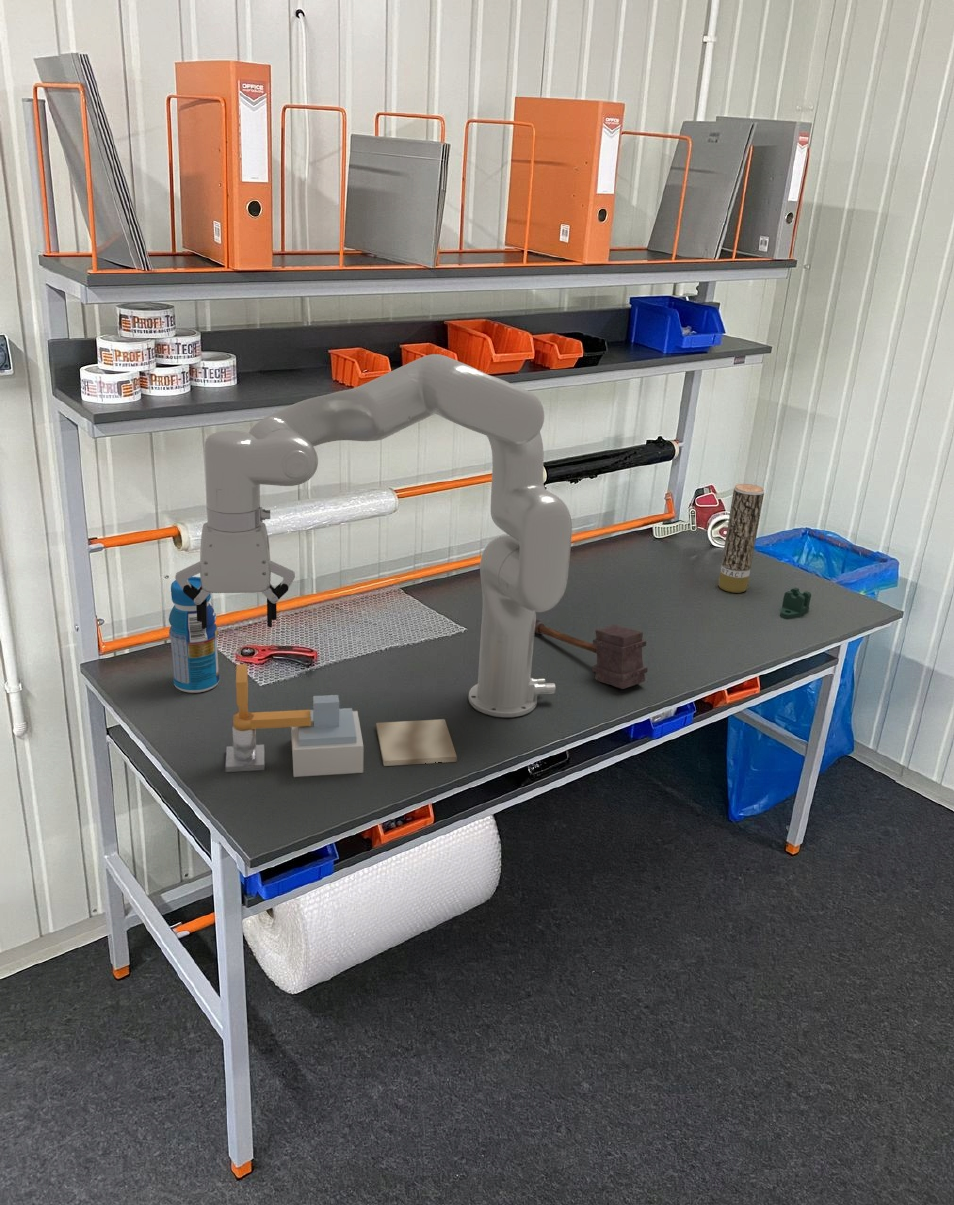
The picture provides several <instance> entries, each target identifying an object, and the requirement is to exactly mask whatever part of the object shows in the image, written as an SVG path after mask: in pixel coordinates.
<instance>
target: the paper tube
mask: <svg viewBox="0 0 954 1205" xmlns="http://www.w3.org/2000/svg"><path fill="white" fill-rule="evenodd" d="M764 496H765V489H764V488H763V487H762V486H759V485H757V484H756V485H755V484H751V483H738V484H737V483H736V484H735V485H734V487H733V492H732V498H731V505H730V510H729V515H728V523H727V529H726V535H725V541H724V548H723V552H722V559H721V565H720V572H719V576H718V577H719V579H718V588H720V589H721V590H723V591H725V592H728V593H732V594H733V593H734V594H740V593H743V592H745V591H746V590H747V589H748V585H749V579H750V574H751V569H752V563H753V557H754V551H755V547H756V540H757V535H758V529H759V525H760V518H761V513H762V509H763V508H762V507H763V502H764Z"/></svg>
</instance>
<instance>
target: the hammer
mask: <svg viewBox="0 0 954 1205" xmlns="http://www.w3.org/2000/svg"><path fill="white" fill-rule="evenodd" d="M535 633H536V634H538V635H541V634H543V635H545V636H548V637H550V638H553V639H556V640H559V641H561V642H565V643H567V644H569V645H571V646H575V647H578V648H580V649H583V650H586V651H587V652H588V651H589V652H592V653H594V654H596V664H594V665H593V666H592V668H591V669H592V672H594V673H595V677H594V680H595V679H596V680H595V681H597V680H598V682H600V683H603V684H605V685H609V686H610V685H611V686H612V687H615V688H618V689H621V690H624V689H627V688H630V687H633V686H636V685H638V684H642V683H644V682H646V675H645V674H646V673H648V670H649V669H648V667H646V666H644V662H643V648H644V647H646V646H647V640H644V639H643V633H644V632H642V631H639V630H636V629H632V628H628V627H624V626H620V625H616V624H612V625H609V626H606V627H601V628H599V629H595V636H596V637H595V638H593V639H592V643H590V642H587V641H585V640H581V639H579V638H576V637H573V636H570V635H567V634H565V633H563V632H561V631H558V630H555V629H553V628H550V627H547V626H545V624H544V623H542V622H541V621H540V620H538V619H536V622H535V631H534V634H535Z"/></svg>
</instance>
